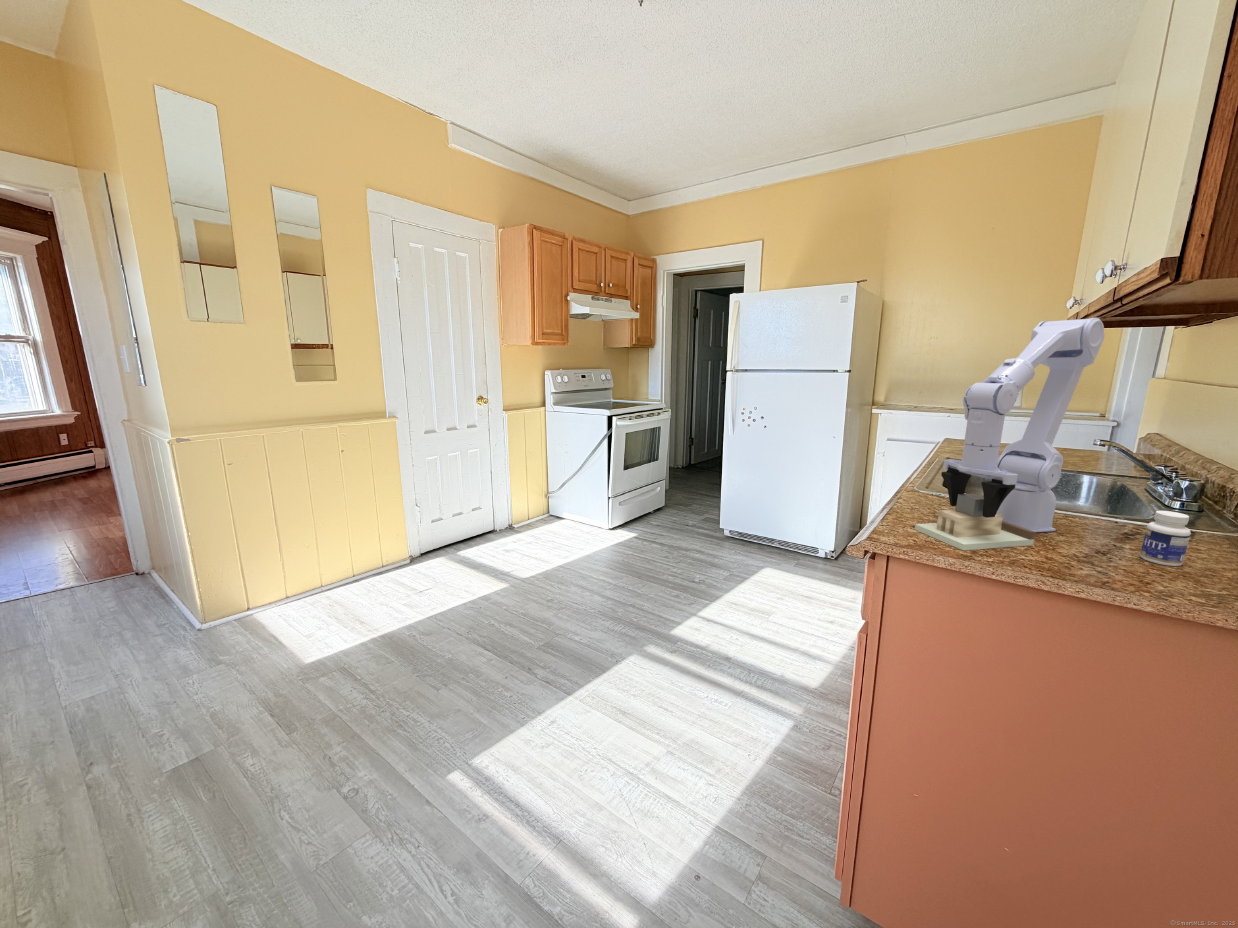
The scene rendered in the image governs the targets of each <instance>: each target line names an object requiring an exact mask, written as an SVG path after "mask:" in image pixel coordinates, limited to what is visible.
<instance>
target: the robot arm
mask: <svg viewBox="0 0 1238 928" xmlns="http://www.w3.org/2000/svg"><path fill="white" fill-rule="evenodd" d="M1104 339H1105V326H1104V322H1103V321H1102V319H1100V318H1099V317H1091V318H1082V319H1081V318H1080V319H1064V320H1051V321H1049V320H1042V321H1040V322H1039V323H1038V324H1037V325H1036V326H1034V328H1033V329H1032V331H1031V336H1030V342H1029V343H1028V344H1027V345H1026V347H1024V349H1023V350H1022V351H1021V352H1020V354H1018V356H1017V357H1015V358H1014V357H1013V358H1007V359H1004V361H1003V362H1002V363H1001V364H1000V365H999V366H998V367H997V368H996V369H995V370H994V371H993V372H991V374H989V376H988V377H986V378H985V379H984V380H983V381H982V382H975V383H974V384H971V385H969V387H968V388H967V389H966V391H965V394H964V396H963V397H962V404H963V405H962V406H963V408H964V419H965V420H966V428H965V434H964V435H965V436H964V439H963V440H964V442H963V449H962V456H961V460H957V459H943V466H942V469H943V470H946V471H941V478H942V479H943V481H944V483H945V486H946V489H947V493H948V499H949V506H951V507H956V505H957V499H958V494H966V492H965V491H966V489H967V486H968V483H969V481H970V478H971V477H972V476H974V477H978V478H979V477H980V478H983V479H986V481H981V482H980V484H981V488H982V493H983V496H984V503H983V517H986V518H989V517H995V515H996V513H998V514H1001V515H1003V519H1002V521H1004V522H1007V523H1010V524H1013V525H1016V526H1019V527H1022V528H1025V529H1028V530H1031V531H1034V532H1036V533H1044V532H1055V531H1056V530H1057V529H1056V528H1055V527H1053V521H1054V517H1055V516H1054V515H1055V512H1056V505H1057V498H1056V495H1055V493H1054V492H1053V491H1052V490H1051V489H1053V488H1055V486H1057V484H1058V483H1059V481H1060V478H1061V475H1062V474H1061V473H1062V467H1063V464H1064V458H1063V457H1064V456H1062V454H1061V453H1060V452H1059V451H1058V450H1057V449H1056V448H1055V447H1054V446H1053V443H1054V441H1055V438H1056V437H1057V433H1058V431H1059V429H1060V426H1061V424H1062V422H1063V420H1064V417H1065V415H1066V412H1067V410H1068V407H1069V405H1070V403H1071V400H1072V398H1073V395H1074V393H1075V390H1076V388H1077V385H1078V383H1079V381H1080V378H1081V376H1082V374H1083V371H1084V369H1085V368H1086V367H1089V366H1091V365H1093V363H1094V362H1095V360H1096V358H1097V356H1098V354H1099V352H1100V349H1101V347H1102V345H1103V342H1104ZM1039 365H1044V366H1046V367H1047V368H1049V372H1048V375H1047V377H1046V380H1045V381H1044V384H1043V386H1042V389H1041V392H1040V394H1039V396H1038V399H1037V401H1036V403H1035V407H1034V408H1033V411H1032V414H1031V415H1030V419H1028V420H1029V421H1028V424H1027V425H1026V428H1025V431H1024V433H1023V435H1022V437H1021V439H1019V440H1017V441H1014V442H1012V443H1010V444H1008V445H1006V446H1005V447H1004V449H1003V451H1002V453H1001V454H1000V449H1001V444H1002V443H1001V442H1002V437H1003V436H1002V435H1003V430H1004V423H1005V417H1006V414H1007V413H1008V414H1009V412H1010V411H1012V409H1013V408H1014V405H1015V403H1016V400H1017V399H1018V397H1019V395H1020V394H1019V392H1021V390H1022V389H1024V387H1025V386H1026V385H1028V384H1029V383H1030V382H1031V381H1032V380H1033V378H1034V376H1035V374H1036V373H1035V372H1036V371H1035V369H1036V367H1038V366H1039ZM987 480H989V481H987Z"/></svg>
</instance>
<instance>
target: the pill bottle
mask: <svg viewBox="0 0 1238 928" xmlns="http://www.w3.org/2000/svg"><path fill="white" fill-rule="evenodd" d="M1153 520H1155V521H1150V522H1148V523H1147V525H1146V528H1145V531H1144V536H1143V540H1142V544H1141V549H1140V551H1139V552H1140V553H1139V556H1140V558H1142V559H1143V560H1145V561H1148V562H1150V563H1155V564H1157V565H1158V564H1159V565H1162V566H1171V567H1179V566H1182V565H1183V563H1184V560H1185V555H1186V552H1187V548H1188V546H1189V545H1188V544H1189V541H1190V538H1191V530H1190V528H1188V527H1186V525H1188V523H1189V520H1190V516H1189V515H1188V514H1184V513H1181V512H1178V511H1177V512H1176V511H1170V510H1156V511H1155V514H1154V518H1153Z"/></svg>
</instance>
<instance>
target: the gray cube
mask: <svg viewBox="0 0 1238 928" xmlns="http://www.w3.org/2000/svg"><path fill="white" fill-rule="evenodd" d="M983 503H984V495H981V494H978V493H964V494H958V499H957V505H956V506H955V510H956V511H958V512H960V513H963V514H966V515H969V516H972V517H978V516H983Z"/></svg>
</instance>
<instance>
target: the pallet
mask: <svg viewBox="0 0 1238 928" xmlns="http://www.w3.org/2000/svg"><path fill="white" fill-rule="evenodd" d="M1002 519H1003V515H1001V514H998V512H997V513H996V515H995V517H989V518H986V517H983V516H978V517H972V516H969V515H966V514H963V513H960V512H958V511H956V509H941V510H939V511H938V516H937V522H936V523H937V529H938V530H940V531H942V530H945V533H947V534H953V536H955V537H969V536H984V535H998V534H1000V531H1001V525H1002Z"/></svg>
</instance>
